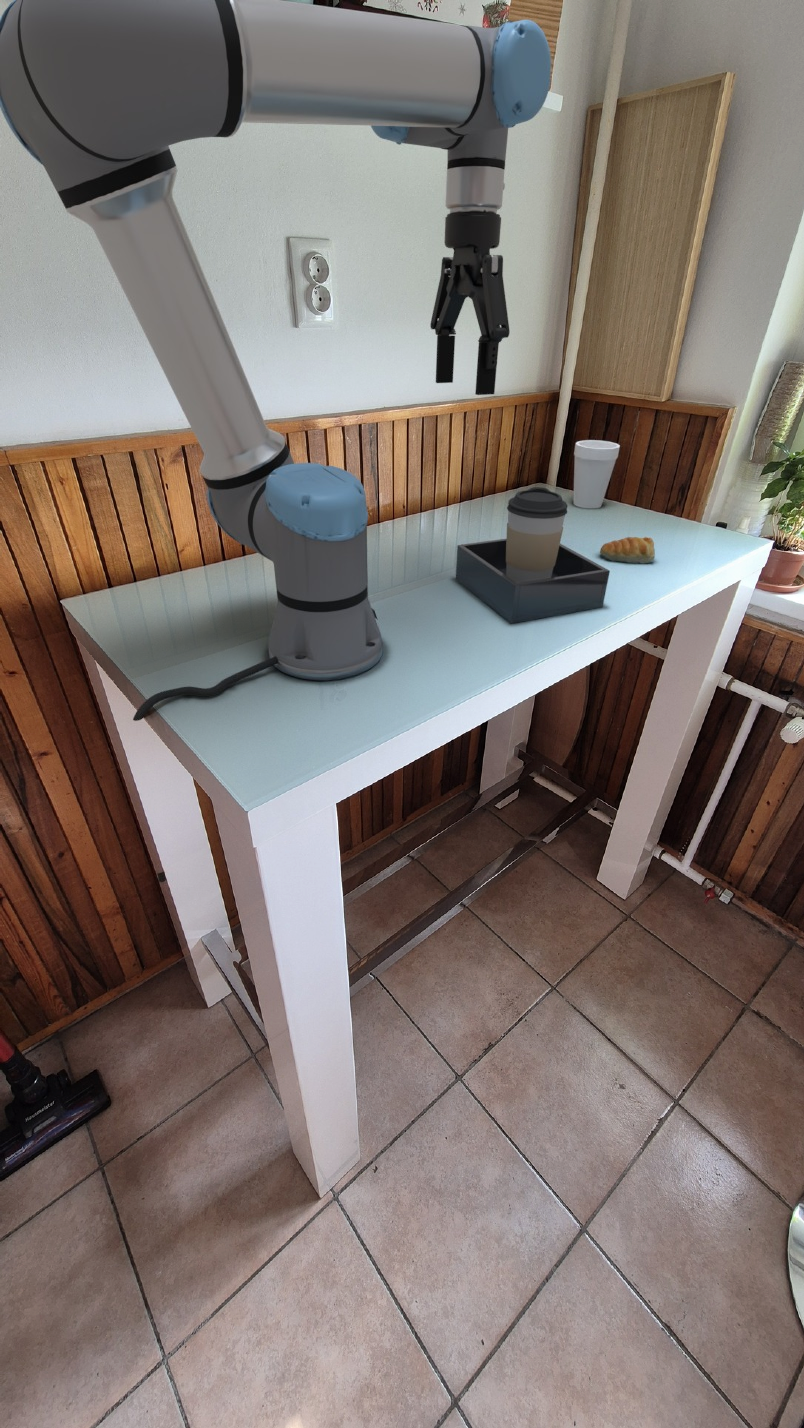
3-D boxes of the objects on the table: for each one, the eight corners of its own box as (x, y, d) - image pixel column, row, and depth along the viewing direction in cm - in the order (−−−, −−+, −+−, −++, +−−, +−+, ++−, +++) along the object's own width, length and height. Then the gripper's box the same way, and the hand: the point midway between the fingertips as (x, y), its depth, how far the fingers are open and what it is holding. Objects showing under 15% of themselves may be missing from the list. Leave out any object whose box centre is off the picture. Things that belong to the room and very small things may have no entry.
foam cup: (567, 508, 145) (576, 447, 138) (565, 497, 153) (574, 439, 146) (610, 511, 144) (622, 449, 137) (606, 500, 152) (617, 441, 145)
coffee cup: (555, 600, 101) (570, 503, 92) (497, 594, 102) (506, 498, 94) (555, 578, 108) (569, 486, 100) (501, 574, 110) (510, 483, 101)
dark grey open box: (511, 623, 96) (515, 585, 92) (455, 579, 110) (457, 544, 107) (602, 607, 101) (610, 570, 98) (538, 566, 115) (542, 533, 112)
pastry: (605, 564, 117) (608, 543, 115) (594, 551, 122) (598, 531, 120) (656, 564, 117) (660, 543, 115) (643, 551, 123) (647, 531, 121)
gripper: (549, 205, 78) (528, 398, 90) (457, 219, 97) (449, 377, 109) (494, 202, 76) (480, 401, 87) (411, 217, 95) (408, 379, 107)
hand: (463, 388), depth 98 cm, fingers open, 13 cm apart
